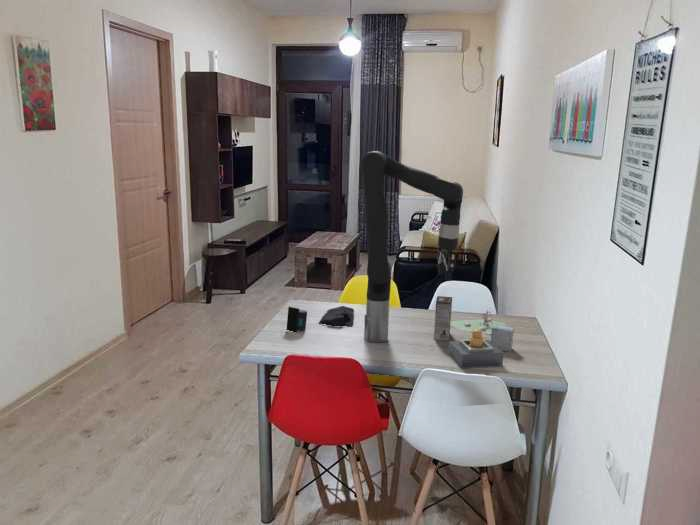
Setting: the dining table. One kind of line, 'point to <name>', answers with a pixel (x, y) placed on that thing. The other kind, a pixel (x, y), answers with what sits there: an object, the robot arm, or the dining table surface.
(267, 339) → the dining table surface
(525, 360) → the dining table surface
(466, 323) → the plant
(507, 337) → the medicine box
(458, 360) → the block
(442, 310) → the coffee box
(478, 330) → the tan stepped cylinder
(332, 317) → the dark slate chunk
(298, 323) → the speaker
